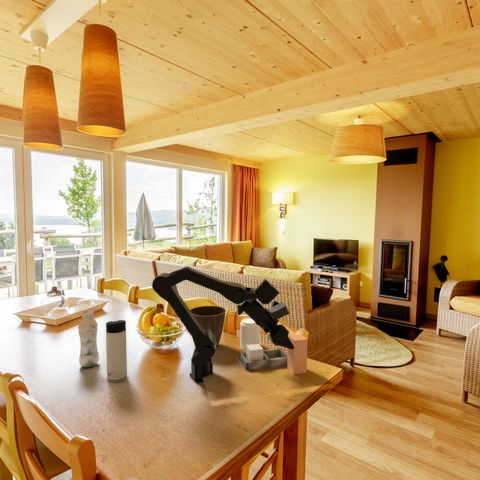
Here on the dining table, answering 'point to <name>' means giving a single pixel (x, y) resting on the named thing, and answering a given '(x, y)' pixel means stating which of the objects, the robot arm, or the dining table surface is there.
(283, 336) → the robot arm
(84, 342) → the plastic bottle
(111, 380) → the travel mug
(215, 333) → the plant pot
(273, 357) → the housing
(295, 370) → the jaw tall
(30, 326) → the dining table surface
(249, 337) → the beverage can
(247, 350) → the cream white block
